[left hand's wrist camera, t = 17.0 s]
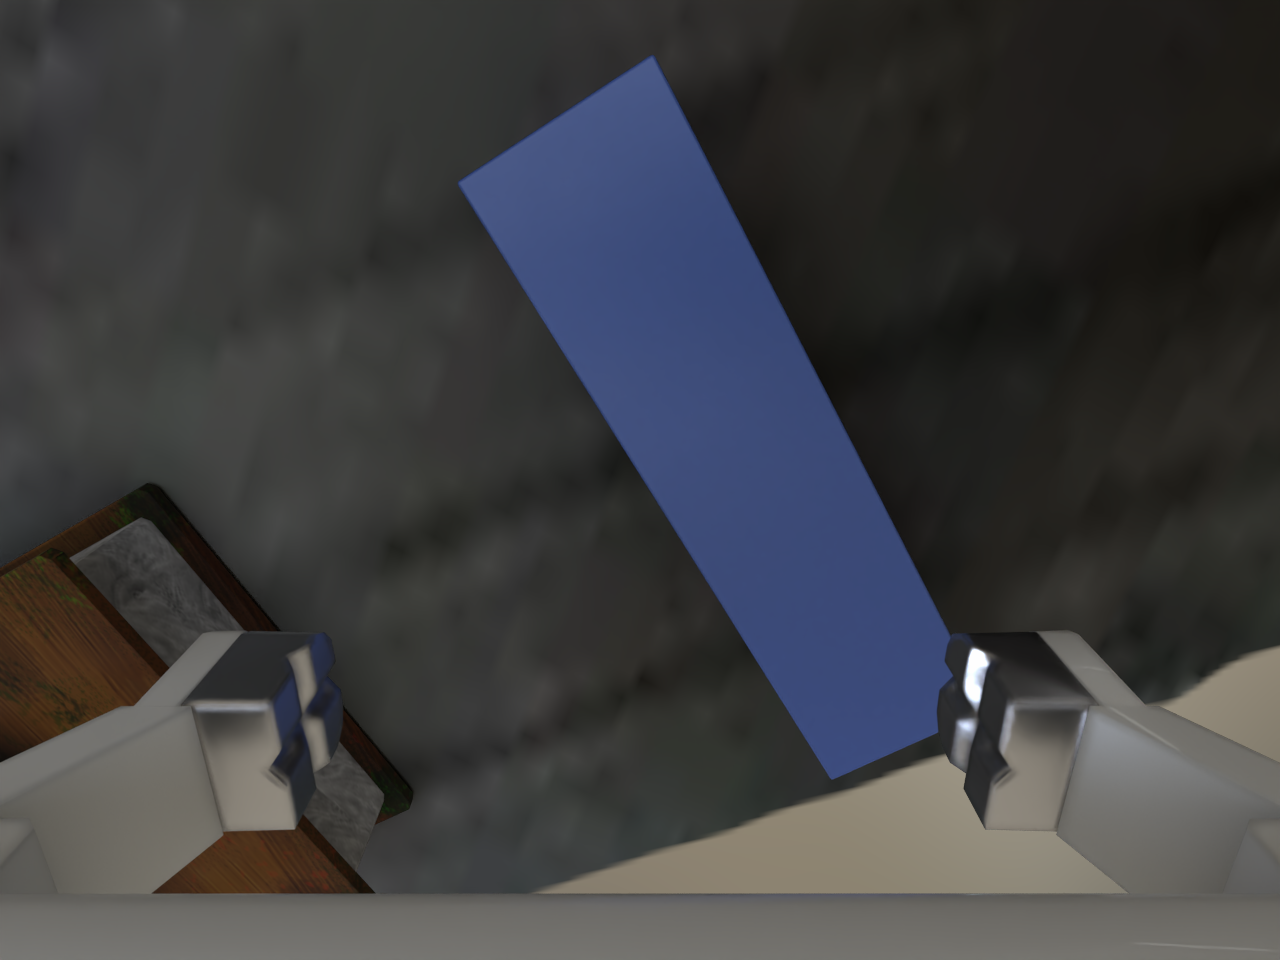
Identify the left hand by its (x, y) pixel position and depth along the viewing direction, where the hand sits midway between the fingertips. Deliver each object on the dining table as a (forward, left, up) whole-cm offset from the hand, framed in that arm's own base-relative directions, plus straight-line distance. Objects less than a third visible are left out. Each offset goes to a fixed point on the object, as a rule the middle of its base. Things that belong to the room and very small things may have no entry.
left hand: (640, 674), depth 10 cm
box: (-2, +5, -24) cm, 24 cm away
